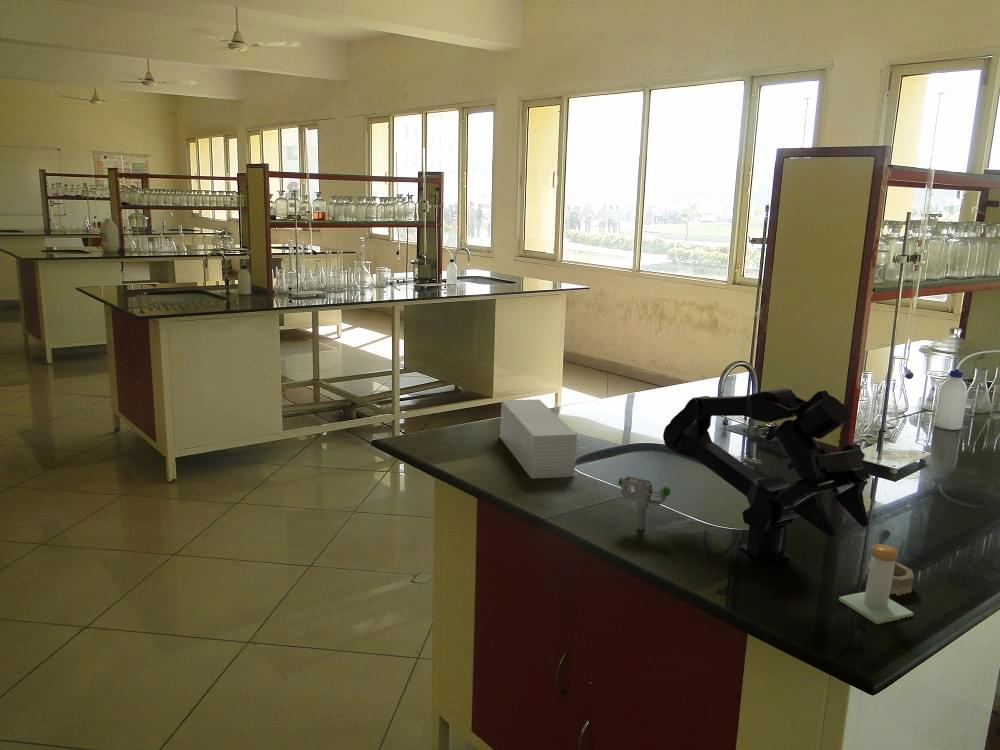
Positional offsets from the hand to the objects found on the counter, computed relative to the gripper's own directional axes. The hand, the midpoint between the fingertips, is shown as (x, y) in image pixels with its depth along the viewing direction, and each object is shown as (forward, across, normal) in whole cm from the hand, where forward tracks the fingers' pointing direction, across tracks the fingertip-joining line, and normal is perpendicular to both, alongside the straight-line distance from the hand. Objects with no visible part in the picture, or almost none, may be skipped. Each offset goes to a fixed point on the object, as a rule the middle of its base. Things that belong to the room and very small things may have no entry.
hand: (850, 531), depth 133 cm
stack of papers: (-51, -7, +67) cm, 84 cm away
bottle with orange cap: (+12, 0, +3) cm, 12 cm away
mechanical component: (-18, -14, +34) cm, 40 cm away
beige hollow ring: (+10, +10, +6) cm, 15 cm away
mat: (+12, 0, +3) cm, 13 cm away
